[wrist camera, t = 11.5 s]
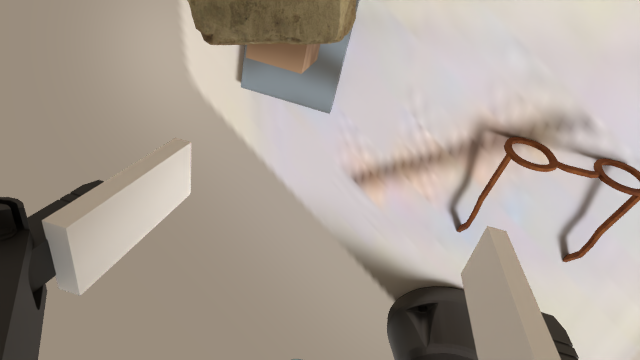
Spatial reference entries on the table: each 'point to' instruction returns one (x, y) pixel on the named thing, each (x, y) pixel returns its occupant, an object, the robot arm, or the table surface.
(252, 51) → the bridge base
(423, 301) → the robot arm
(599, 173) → the glasses
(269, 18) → the stone block
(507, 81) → the table surface
